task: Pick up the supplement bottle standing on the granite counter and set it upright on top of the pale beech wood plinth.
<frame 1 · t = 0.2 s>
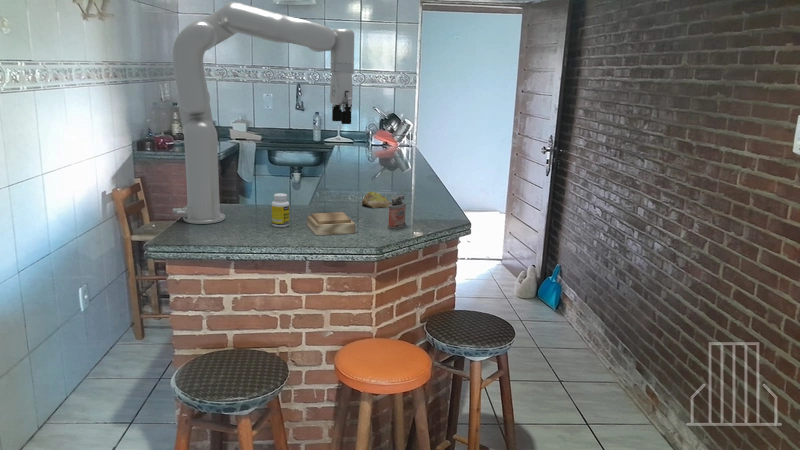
hand: (341, 122, 197), 31 cm above the counter, tool pointing down, fingers open, 9 cm apart
supplement bottle: (280, 225, 186), on the counter
lighter: (396, 227, 189), on the counter
plinth: (330, 229, 184), on the counter
rock: (374, 206, 218), on the counter
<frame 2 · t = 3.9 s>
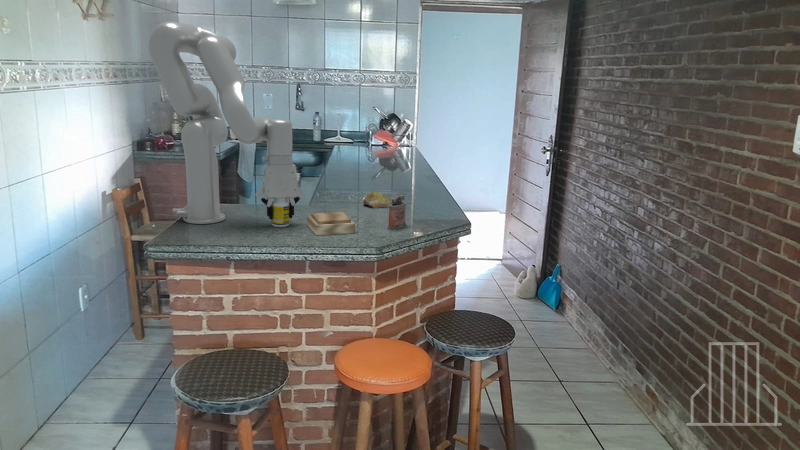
hand: (280, 217, 185), 3 cm above the counter, tool pointing down, fingers closed on supplement bottle, 5 cm apart
supplement bottle: (280, 225, 186), on the counter, touching gripper
everything else where it was.
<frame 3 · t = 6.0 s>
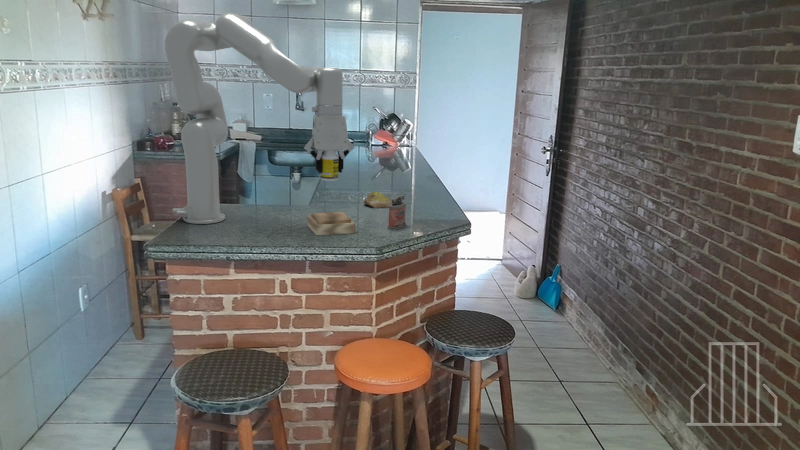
hand: (329, 171, 179), 18 cm above the counter, tool pointing down, fingers closed on supplement bottle, 5 cm apart
supplement bottle: (329, 180, 180), point 15 cm above the counter, touching gripper
everything else where it was.
when the fingers open (7 cm above the counter, at t = 8.4 s): supplement bottle stays where it is, resting on plinth.
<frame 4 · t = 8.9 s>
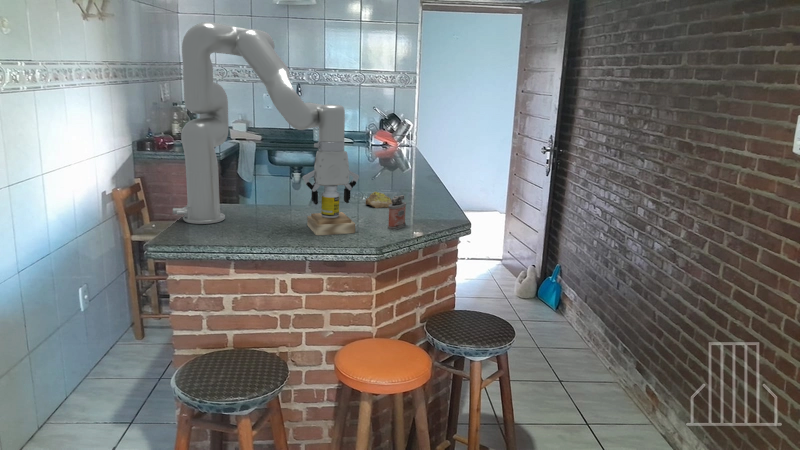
hand: (331, 202, 182), 8 cm above the counter, tool pointing down, fingers open, 9 cm apart
supplement bottle: (330, 217, 183), point 4 cm above the counter, touching plinth
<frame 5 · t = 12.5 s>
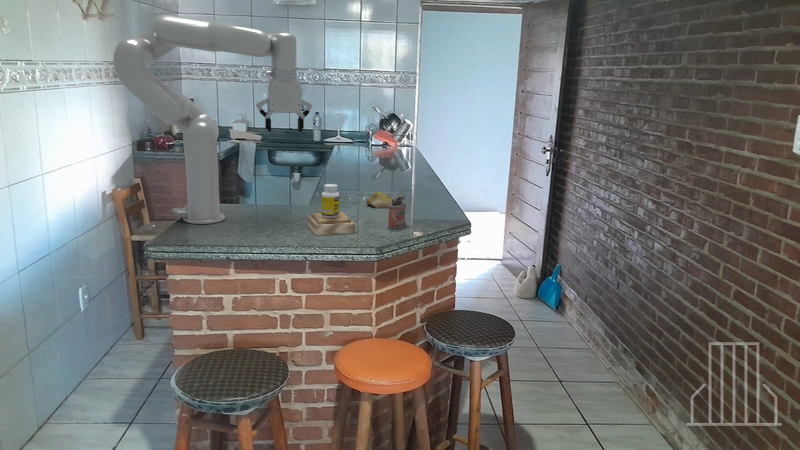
hand: (284, 131, 187), 28 cm above the counter, tool pointing down, fingers open, 9 cm apart
at the end: supplement bottle inside the target area on the plinth (0.2 cm from its centre), point 3.8 cm above the plinth's base; supplement bottle tilted 0°; the gripper is holding nothing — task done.
